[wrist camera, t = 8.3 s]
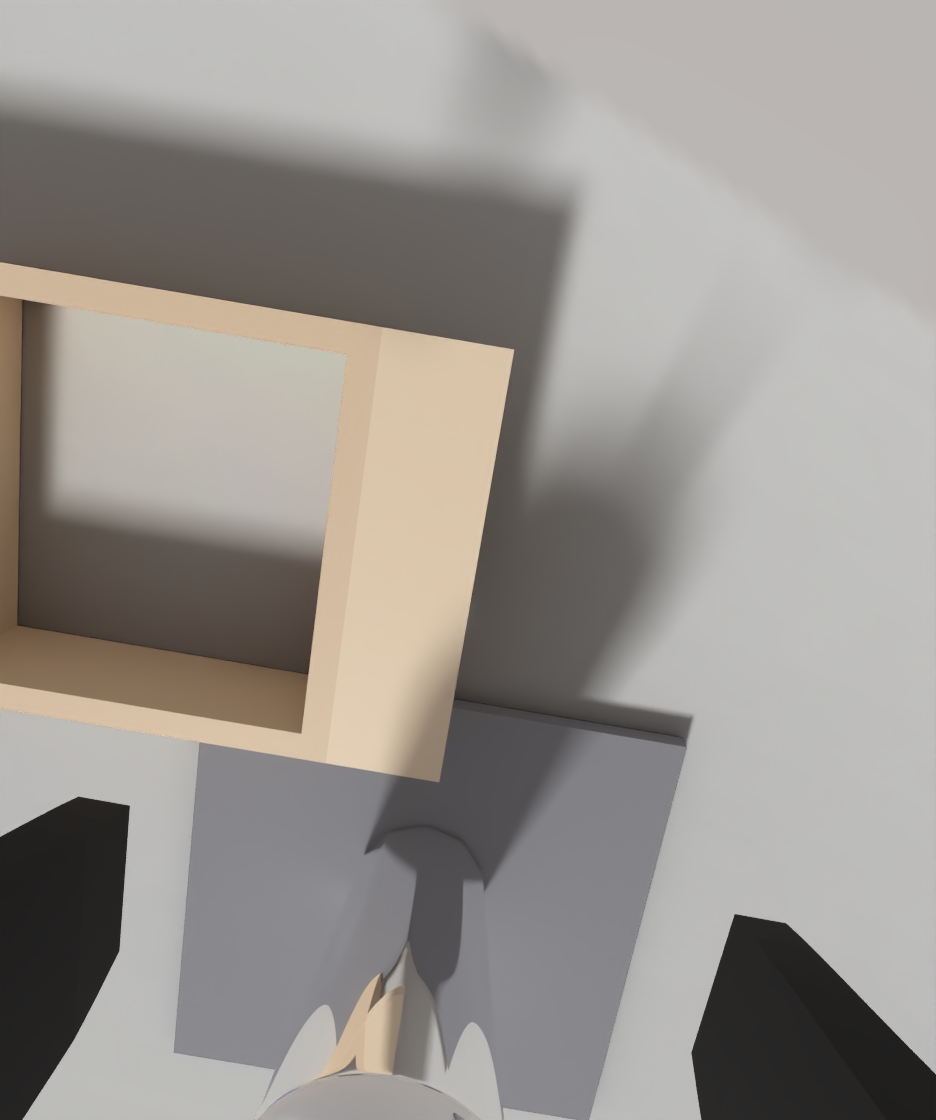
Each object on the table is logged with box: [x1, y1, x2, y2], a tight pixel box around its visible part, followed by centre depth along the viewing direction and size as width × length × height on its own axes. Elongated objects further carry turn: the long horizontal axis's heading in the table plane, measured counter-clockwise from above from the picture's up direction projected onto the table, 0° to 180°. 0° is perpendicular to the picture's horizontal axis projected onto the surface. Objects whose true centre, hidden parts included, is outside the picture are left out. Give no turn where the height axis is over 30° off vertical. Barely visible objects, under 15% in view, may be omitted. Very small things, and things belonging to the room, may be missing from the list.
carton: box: [0, 262, 514, 782], centre depth 17 cm, size 9×14×3 cm, turn 81°
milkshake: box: [254, 825, 504, 1120], centre depth 16 cm, size 4×5×10 cm
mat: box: [174, 699, 687, 1120], centre depth 21 cm, size 12×12×1 cm
